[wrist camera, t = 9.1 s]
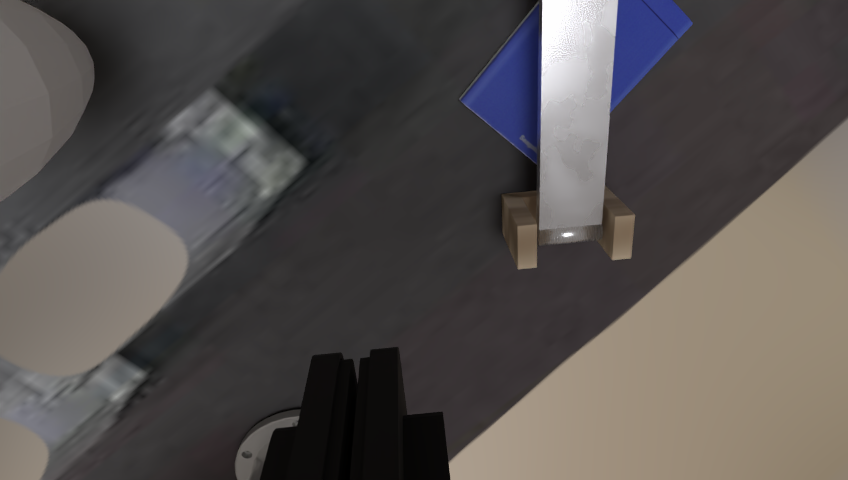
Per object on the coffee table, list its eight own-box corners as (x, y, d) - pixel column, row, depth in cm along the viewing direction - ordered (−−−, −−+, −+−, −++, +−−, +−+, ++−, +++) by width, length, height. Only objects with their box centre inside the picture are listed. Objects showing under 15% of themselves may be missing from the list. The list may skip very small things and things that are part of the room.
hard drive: (552, 178, 37) (695, 24, 33) (460, 102, 34) (604, -75, 30) (546, 170, 38) (683, 22, 34) (457, 97, 36) (595, -72, 32)
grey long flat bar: (594, 234, 36) (602, 243, 35) (534, 240, 36) (540, 250, 35) (616, -95, 28) (627, -98, 27) (538, -88, 28) (545, -90, 26)
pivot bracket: (601, 223, 40) (630, 258, 35) (502, 232, 39) (517, 269, 35) (603, 184, 38) (634, 215, 33) (501, 194, 38) (517, 226, 33)
